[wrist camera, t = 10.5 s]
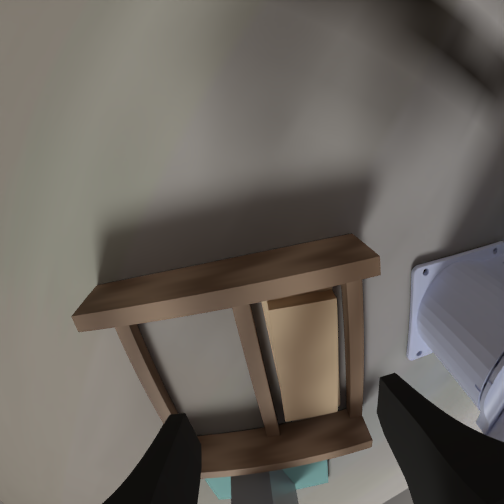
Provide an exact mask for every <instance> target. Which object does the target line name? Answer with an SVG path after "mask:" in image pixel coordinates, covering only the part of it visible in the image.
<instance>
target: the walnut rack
mask: <svg viewBox="0 0 504 504" xmlns="http://www.w3.org/2000/svg"><path fill="white" fill-rule="evenodd" d="M378 275H381V272H380V256H379V255H378V254H377V253H375V252H374V251H373V250H372V249H371V248H369V247H368V246H367V245H366V244H364V243H363V242H362V241H361V240H360V239H358V238H357V237H356V236H355V235H353V234H352V233H351V234H346V235H342V236H337V237H332V238H327V239H322V240H317V241H312V242H307V243H302V244H298V245H293V246H288V247H283V248H278V249H273V250H268V251H263V252H258V253H253V254H249V255H244V256H239V257H234V258H229V259H224V260H219V261H214V262H209V263H204V264H199V265H194V266H189V267H185V268H180V269H175V270H170V271H165V272H160V273H155V274H150V275H145V276H140V277H135V278H130V279H125V280H120V281H115V282H110V283H105V284H100V285H97V286H96V287H95V288H94V289H93V291H92V292H91V293H90V294H89V295H88V297H87V298H86V299H85V300H84V301H83V303H82V304H81V305H80V306H79V308H78V309H77V310H76V311H75V313H74V314H73V315H72V316H71V317H72V319H73V321H74V323H75V325H76V328H77V330H78V332H84V331H92V330H99V329H106V328H113V327H115V329H116V331H117V333H118V336H119V338H120V340H121V342H122V345H123V347H124V349H125V351H126V353H127V355H128V357H129V359H130V362H131V364H132V366H133V368H134V370H135V372H136V374H137V376H138V378H139V380H140V382H141V384H142V385H143V387H144V389H145V391H146V393H147V395H148V397H149V399H150V401H151V402H152V404H153V406H154V408H155V410H156V411H157V413H158V415H159V417H160V418H161V420H162V422H163V424H164V423H165V421H166V419H167V418H168V416H169V415H170V414H178V412H177V410H176V408H175V406H174V404H173V403H172V401H171V399H170V397H169V394H168V392H167V390H166V388H165V386H164V384H163V382H162V380H161V378H160V376H159V374H158V371H157V369H156V367H155V365H154V363H153V360H152V358H151V356H150V354H149V351H148V349H147V347H146V344H145V342H144V340H143V337H142V335H141V333H140V330H139V328H138V325H137V324H140V323H147V322H153V321H159V320H165V319H171V318H177V317H183V316H189V315H194V314H200V313H206V312H211V311H217V310H222V309H227V308H232V309H233V313H234V317H235V321H236V325H237V329H238V332H239V336H240V340H241V344H242V348H243V351H244V355H245V359H246V362H247V366H248V370H249V373H250V377H251V381H252V384H253V388H254V391H255V395H256V399H257V402H258V406H259V409H260V413H261V416H262V420H263V423H264V427H263V428H257V429H251V430H244V431H237V432H230V433H222V434H213V435H203V436H197V437H198V439H199V441H200V443H201V451H202V469H201V477H200V479H206V478H219V477H230V476H239V475H248V474H255V473H262V472H269V471H275V470H281V469H286V468H291V467H297V466H301V465H306V464H311V463H315V462H319V461H324V460H328V459H332V458H335V457H339V456H343V455H347V454H350V453H354V452H357V451H360V450H364V449H367V448H370V447H372V441H373V440H372V438H371V435H370V433H369V431H368V428H367V426H366V424H365V421H364V419H363V417H362V404H363V376H364V317H363V288H362V279H366V278H370V277H374V276H378ZM337 285H341V291H342V304H343V320H344V338H345V362H346V409H344V410H341V411H338V412H334V413H330V414H325V415H321V416H317V417H313V418H308V419H304V420H299V421H295V422H290V423H285V424H280V425H278V421H277V417H276V413H275V409H274V404H273V400H272V396H271V392H270V387H269V383H268V379H267V375H266V370H265V366H264V362H263V357H262V353H261V349H260V344H259V340H258V336H257V331H256V327H255V322H254V318H253V314H252V309H251V305H250V304H253V303H258V302H263V301H268V300H273V299H278V298H282V297H287V296H292V295H296V294H301V293H306V292H310V291H315V290H319V289H324V288H328V287H332V286H337Z"/></svg>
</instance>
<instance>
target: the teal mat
mask: <svg viewBox="0 0 504 504" xmlns="http://www.w3.org/2000/svg"><path fill="white" fill-rule="evenodd" d="M282 470H283V471H284V472H285V474H286V475H287V476H288V477H289V478H290V479H291V480H292V482H293V483H294V484H295V487H296V489H301V488H306V487H310V486H315V485H319V484H324V483H328V466H327V460H324V461H319V462H315V463H311V464H306V465H301V466H297V467H291V468H286V469H282ZM205 480H206V482H207V483H208V484H209V486H210V487H211V489H212V490H213V492H214V493H215V495H216V496H217V497H218V499H231V476H230V477H219V478H206V479H205Z"/></svg>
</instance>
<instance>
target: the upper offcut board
mask: <svg viewBox="0 0 504 504" xmlns="http://www.w3.org/2000/svg"><path fill="white" fill-rule="evenodd" d="M267 304H268V311H269V317H270V324H271V331H272V337H273V344H274V350H275V357H276V364H277V370H278V377H279V384H280V390H281V397H282V404H283V411H284V417H285V422H287V421H293V420H299V419H305V418H310V417H315V416H320V415H325V414H330V413H334V412H338V317H337V298H336V296H335V295H334V293H333V291H332V289H331V290H326V291H320V292H315V293H309V294H304V295H298V296H292V297H287V298H281V299H275V300H269V301H267Z"/></svg>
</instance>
